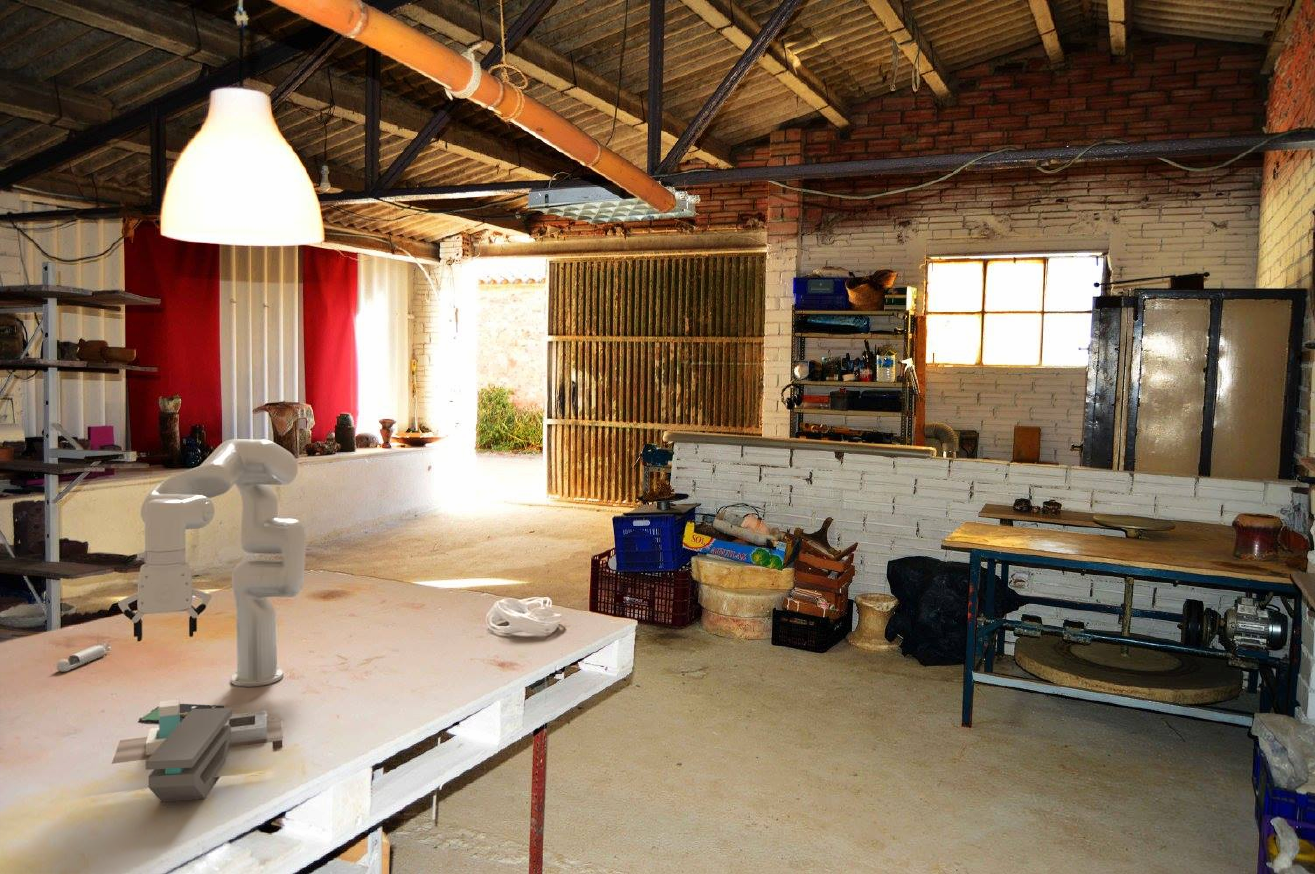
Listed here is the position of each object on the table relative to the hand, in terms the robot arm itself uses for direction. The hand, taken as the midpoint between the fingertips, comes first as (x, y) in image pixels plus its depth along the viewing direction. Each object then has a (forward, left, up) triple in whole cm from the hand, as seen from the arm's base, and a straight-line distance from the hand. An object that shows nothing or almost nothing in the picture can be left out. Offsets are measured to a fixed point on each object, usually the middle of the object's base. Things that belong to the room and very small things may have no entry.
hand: (165, 637), depth 192 cm
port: (+1, +14, -23) cm, 27 cm away
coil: (-62, +96, -25) cm, 117 cm away
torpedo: (-70, -26, -25) cm, 78 cm away
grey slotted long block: (+20, +6, -25) cm, 33 cm away
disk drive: (-16, +2, -25) cm, 30 cm away
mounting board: (+1, +6, -25) cm, 25 cm away
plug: (+1, 0, -23) cm, 23 cm away
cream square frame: (+1, 0, -23) cm, 23 cm away
